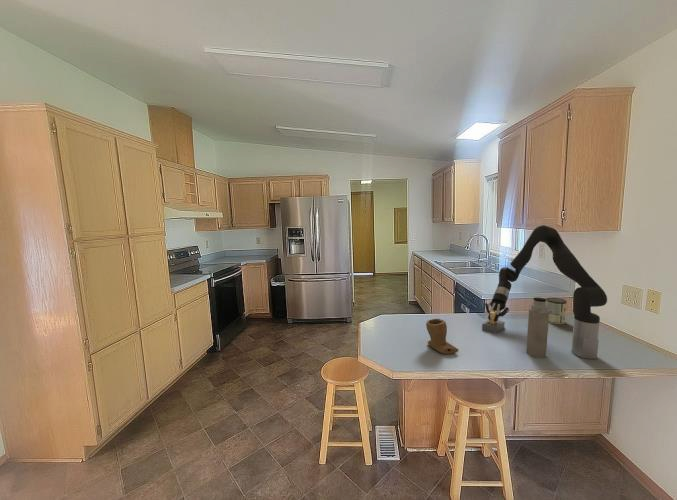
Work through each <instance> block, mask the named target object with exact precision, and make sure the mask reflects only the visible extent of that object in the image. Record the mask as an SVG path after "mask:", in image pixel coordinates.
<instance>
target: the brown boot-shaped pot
mask: <svg viewBox="0 0 677 500" xmlns="http://www.w3.org/2000/svg"><path fill="white" fill-rule="evenodd" d="M425 326H426V330H427V333H428V335H429V337H430V340H428V341H427V344H428V345H429V346H430V347H431V348H433V349H434V350H436V351H437V352H439V353H441V354H445V355H452V354H456V353H459V349H458V348H457V347H455V346H454V345H453V344H451V343H449V342H448V341H447V333H448V332H447V331H448V329H447V328H448V327H447V323H446V320H444V319H440V318H431V319H429V320H427V321H426V323H425Z"/></svg>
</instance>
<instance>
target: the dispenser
mask: <svg viewBox="0 0 677 500" xmlns="http://www.w3.org/2000/svg"><path fill="white" fill-rule="evenodd" d="M505 322H506V321H502V320H499V319H498V321H497V323H496V324H491V323H490V320H489V319H487V320H486V321H484V322H483V323H482V324H481V329H482V330H483V331H486V332H490V333H494V334H498V333H499V332H501V331H502V330H503V329H505Z"/></svg>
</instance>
